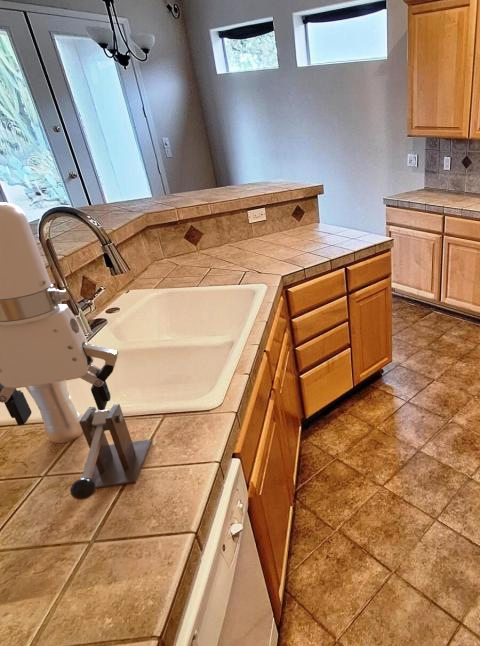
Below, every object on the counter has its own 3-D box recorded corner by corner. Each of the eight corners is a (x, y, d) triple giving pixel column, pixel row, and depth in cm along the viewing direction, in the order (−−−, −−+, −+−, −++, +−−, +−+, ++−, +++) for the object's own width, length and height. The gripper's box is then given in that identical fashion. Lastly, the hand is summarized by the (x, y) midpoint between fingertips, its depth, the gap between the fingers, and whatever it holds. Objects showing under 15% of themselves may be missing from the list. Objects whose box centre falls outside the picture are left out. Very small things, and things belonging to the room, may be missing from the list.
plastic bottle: (91, 424, 93) (60, 343, 84) (81, 444, 88) (47, 359, 79) (56, 430, 91) (21, 347, 83) (44, 450, 86) (5, 364, 77)
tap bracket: (136, 485, 78) (116, 429, 72) (80, 494, 76) (55, 437, 70) (153, 443, 88) (137, 391, 83) (104, 450, 86) (84, 397, 81)
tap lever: (97, 501, 69) (88, 492, 67) (73, 505, 68) (63, 496, 66) (118, 418, 80) (111, 407, 77) (98, 420, 79) (90, 410, 76)
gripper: (104, 286, 61) (136, 387, 69) (-51, 302, 55) (2, 410, 63) (92, 305, 55) (129, 413, 63) (-84, 324, 49) (-20, 442, 57)
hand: (65, 412), depth 63 cm, fingers open, 9 cm apart
